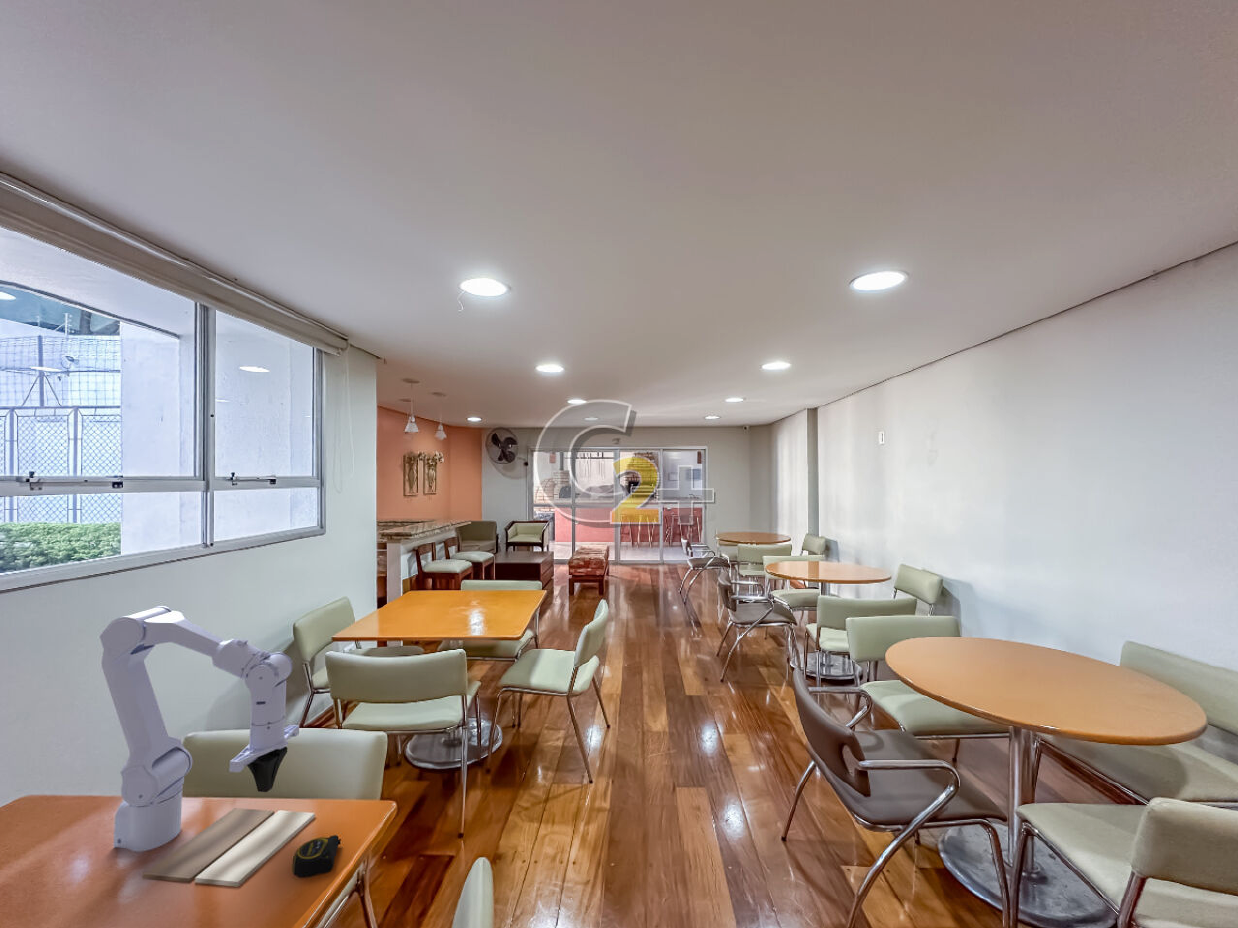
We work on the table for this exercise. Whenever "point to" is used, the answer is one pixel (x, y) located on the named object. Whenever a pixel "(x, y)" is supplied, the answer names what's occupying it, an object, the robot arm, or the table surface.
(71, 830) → the table surface
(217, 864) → the plank
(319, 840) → the tape measure
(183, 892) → the table surface
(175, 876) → the grey rectangular panel
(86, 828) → the table surface
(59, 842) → the table surface
